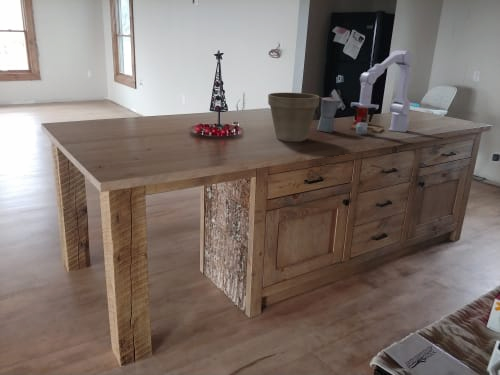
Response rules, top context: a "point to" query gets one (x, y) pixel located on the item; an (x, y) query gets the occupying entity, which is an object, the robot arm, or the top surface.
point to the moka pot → (327, 113)
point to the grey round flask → (361, 128)
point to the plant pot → (292, 114)
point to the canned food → (361, 115)
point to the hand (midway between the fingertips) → (362, 120)
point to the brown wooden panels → (374, 129)
